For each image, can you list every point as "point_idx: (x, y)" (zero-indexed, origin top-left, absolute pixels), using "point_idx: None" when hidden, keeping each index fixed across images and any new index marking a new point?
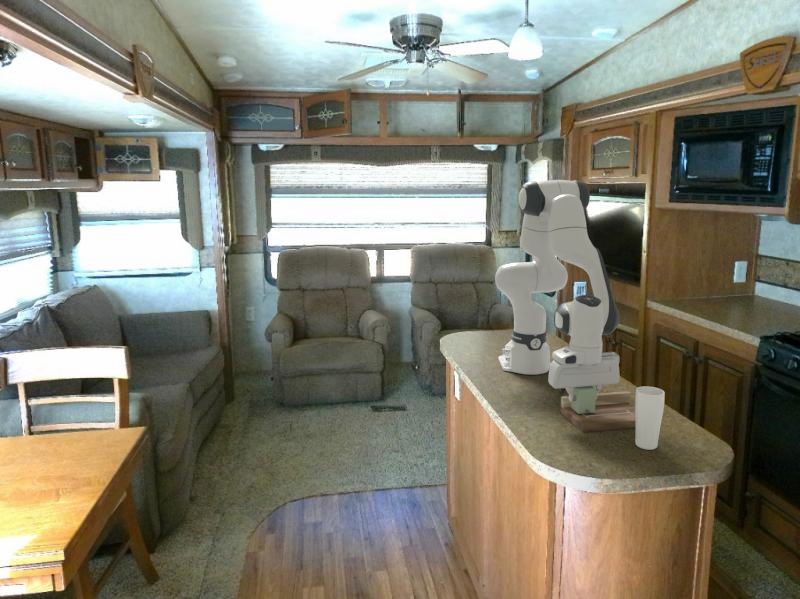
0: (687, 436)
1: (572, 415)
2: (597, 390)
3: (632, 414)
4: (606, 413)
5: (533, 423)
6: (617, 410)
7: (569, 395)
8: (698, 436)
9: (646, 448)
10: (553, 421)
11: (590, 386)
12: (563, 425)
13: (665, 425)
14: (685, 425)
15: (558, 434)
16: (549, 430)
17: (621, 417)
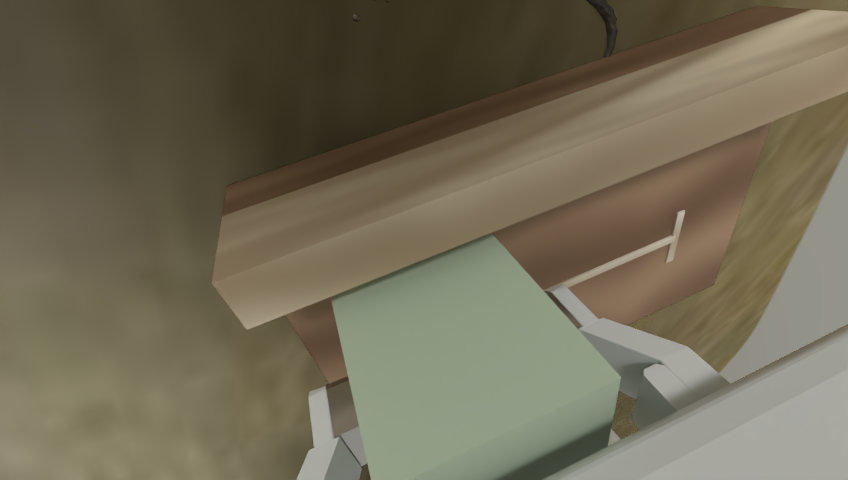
0: (716, 316)
1: (324, 363)
2: (619, 387)
3: (668, 261)
4: (549, 277)
5: (19, 420)
6: (634, 218)
7: (318, 443)
8: (744, 306)
9: None
10: (182, 350)
11: (586, 453)
12: (259, 378)
13: (728, 247)
14: (788, 230)
15: (232, 466)
16: (172, 453)
17: (596, 306)
